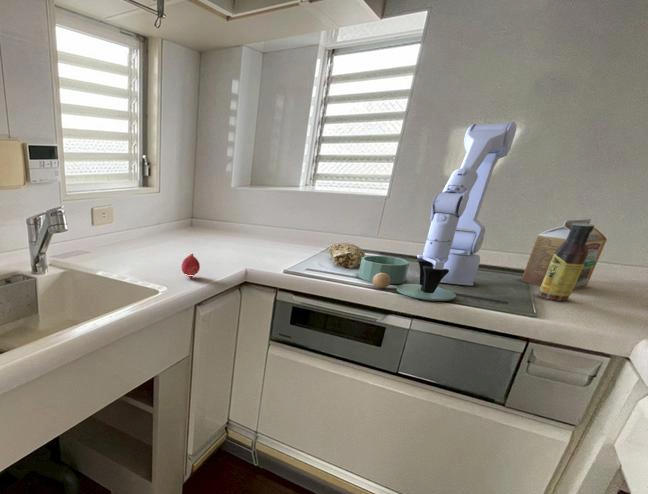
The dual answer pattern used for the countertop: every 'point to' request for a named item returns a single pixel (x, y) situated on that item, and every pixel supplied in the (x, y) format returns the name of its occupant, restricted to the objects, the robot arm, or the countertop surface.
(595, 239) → the milk carton
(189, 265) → the onion
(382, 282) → the orange brown ball
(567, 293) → the sauce bottle
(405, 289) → the bin lid
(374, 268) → the green faceted bin
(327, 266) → the countertop surface
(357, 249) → the tan brown irregular lump
